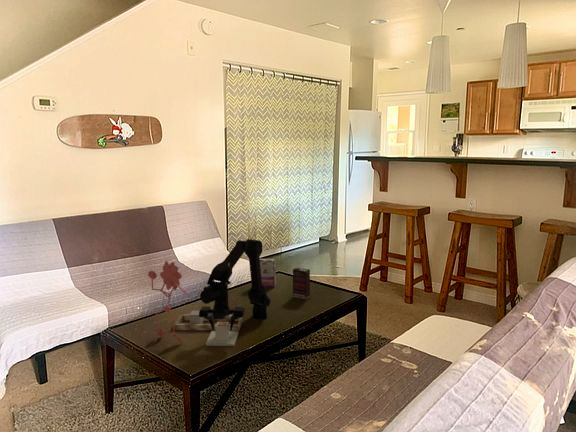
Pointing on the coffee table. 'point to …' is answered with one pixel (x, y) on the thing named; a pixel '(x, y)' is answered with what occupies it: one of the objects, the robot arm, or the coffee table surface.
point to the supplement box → (301, 283)
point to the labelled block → (222, 330)
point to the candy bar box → (268, 272)
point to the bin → (203, 326)
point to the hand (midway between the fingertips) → (222, 330)
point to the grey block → (195, 318)
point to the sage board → (228, 342)
